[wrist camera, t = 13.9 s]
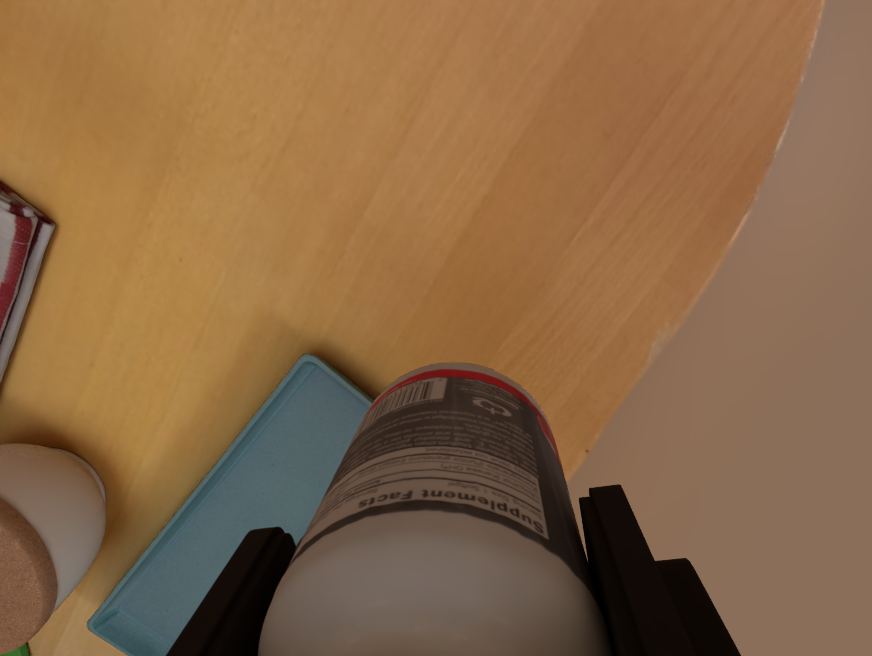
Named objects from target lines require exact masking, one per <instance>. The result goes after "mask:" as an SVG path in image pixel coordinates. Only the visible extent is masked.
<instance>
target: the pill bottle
mask: <svg viewBox="0 0 872 656" xmlns="http://www.w3.org/2000/svg"><path fill="white" fill-rule="evenodd" d="M258 656H613V653H612V648H611V642H610V637H609V632H608V627H607V622H606V619H605V616H604V613H603V610H602V607H601V604H600V601H599V597H598V594H597V591H596V587H595V585H594V582H593V579H592V575H591V571H590V568H589V564H588V561H587V558H586V554H585V551H584V548H583V544H582V541H581V537H580V534H579V529H578V526H577V523H576V519H575V514H574V511H573V508H572V504H571V500H570V496H569V492H568V488H567V484H566V481H565V477H564V473H563V469H562V465H561V461H560V457H559V454H558V450H557V447H556V444H555V440H554V437H553V434H552V431H551V428H550V426H549V423H548V420H547V418H546V416H545V414H544V413H543V411H542V410H541V408H540V406H539V405H538V404H537V402H536V401H535V400H534V399H533V397H532V396H531V395H530V394H529V393H528V392H527V391H526V390H525V389H524V388H522V387H521V386H520V385H519V384H517V383H516V382H514V381H513V380H511V379H509V378H508V377H506V376H504V375H502V374H500V373H498V372H496V371H494V370H493V369H490V368H487V367H483V366H480V365H476V364H471V363H437V364H430V365H427V366H424V367H421V368H418V369H415V370H413V371H411V372H409V373H407V374H405V375H403V376H401V377H399V378H398V379H397V380H395V381H394V382H393V383H391V384H390V385H389V386H388V387H386V388H385V389H384V390H383V391H382V392H381V394H380V395H379V396H378V397H377V398H376V399H375V401H374V402H373V404H372V405H371V407H370V408H369V410H368V412H367V413H366V415H365V417H364V419H363V421H362V422H361V424H360V426H359V428H358V430H357V431H356V433H355V435H354V437H353V439H352V442H351V444H350V446H349V447H348V449H347V451H346V453H345V455H344V457H343V459H342V461H341V463H340V465H339V467H338V469H337V471H336V473H335V475H334V477H333V479H332V481H331V483H330V485H329V487H328V489H327V491H326V493H325V495H324V497H323V499H322V501H321V503H320V505H319V507H318V509H317V511H316V513H315V515H314V517H313V519H312V521H311V522H310V524H309V526H308V528H307V530H306V533H305V534H304V536H303V537H302V538H301V539H300V541H299V542H298V544H297V546H296V549H295V552H294V555H293V558H292V560H291V562H290V564H289V566H288V568H287V570H286V572H285V574H284V575H283V577H282V579H281V581H280V582H279V584H278V586H277V588H276V591H275V594H274V596H273V599H272V602H271V604H270V607H269V609H268V611H267V614H266V617H265V620H264V623H263V627H262V631H261V635H260V641H259V648H258Z"/></svg>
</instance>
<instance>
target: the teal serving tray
mask: <svg viewBox="0 0 872 656" xmlns="http://www.w3.org/2000/svg"><path fill="white" fill-rule="evenodd" d="M374 401H375V400H374V399H372V398H371V397H370V396H368V395H367V394H366V393H365V392H363V391H362V390H361V389H360V388H358V387H357V386H356V385H355V384H353V383H352V382H351V381H350V380H348V379H347V378H346V377H345V376H343V375H342V374H341V373H340V372H338V371H337V370H336V369H335V368H333V367H332V366H331V365H330V364H328V363H327V362H325V361H324V360H323V359H321V358H319V357H317V356H315V355H312V354H309V353H305V354H303V355H302V356H301V357H300V358H299V359H298V360H297V362H296V363H295V364H294V365H293V367H292V368H291V369H290V371H289V372H288V373H287V374H286V376H285V377H284V378H283V379H282V381H281V382H280V383H279V385H278V386H277V387H276V388H275V390H274V391H273V392H272V393H271V395H270V396H269V397H268V399H267V400H266V401H265V402H264V403H263V405H262V406H261V407H260V408H259V410H258V411H257V412H256V413H255V415H254V416H253V417H252V418H251V420H250V421H249V422H248V423H247V425H246V426H245V427H244V429H243V430H242V431H241V432H240V433H239V435H238V436H237V437H236V438H235V440H234V441H233V442H232V444H231V445H230V446H229V448H228V449H227V450H226V451H225V452H224V454H223V455H222V456H221V457H220V459H219V460H218V461H217V462H216V464H215V465H214V466H213V467H212V469H211V470H210V471H209V472H208V473H207V475H206V476H205V477H204V478H203V480H202V481H201V482H200V483H199V485H198V486H197V487H196V489H195V490H194V491H193V492H192V493H191V495H190V496H189V497H188V498H187V499H186V501H185V502H184V503H183V504H182V506H181V507H180V508H179V509H178V511H177V512H176V513H175V514H174V515H173V517H172V518H171V520H170V521H169V522H168V523H167V524H166V525H165V527H164V528H163V529H162V530H161V532H160V533H159V534H158V536H157V537H156V538H155V539H154V540H153V542H152V543H151V544H150V545H149V546H148V548H147V549H146V550H145V552H144V553H143V554H142V555H141V556H140V558H139V559H138V560H137V561H136V563H135V564H134V565H133V566H132V568H131V569H130V570H129V571H128V572H127V574H126V575H125V576H124V577H123V579H122V580H121V581H120V582H119V584H118V585H117V586H116V587H115V589H114V590H113V591H112V592H111V594H110V595H109V596H108V597H107V599H106V600H105V601H104V602H103V603H102V605H101V606H100V607H99V608H98V610H97V611H96V612H95V613H94V614H93V616H92V617H91V618H90V619H89V620H88V622H87V627H88V629H89V630H90V631H91V632H92V633H94V634H95V635H97V636H98V637H100V638H102V639H103V640H105V641H106V642H108V643H110V644H111V645H113V646H114V647H116V648H117V649H119V650H120V651H122V652H123V653H125V654H126V655H128V656H166V654H167V653H168V651H169V650H170V648H171V647H172V645H173V644H174V642H175V641H176V639H177V638H178V636H179V635H180V633H181V632H182V630H183V629H184V627H185V626H186V624H187V623H188V621H189V620H190V618H191V617H192V615H193V614H194V612H195V611H196V609H197V608H198V606H199V605H200V603H201V602H202V600H203V599H204V597H205V596H206V594H207V593H208V591H209V590H210V588H211V587H212V585H213V584H214V582H215V581H216V579H217V578H218V576H219V575H220V573H221V572H222V570H223V569H224V567H225V566H226V564H227V563H228V561H229V560H230V558H231V557H232V555H233V554H234V552H235V551H236V549H237V548H238V546H239V545H240V543H241V542H242V540H243V539H244V537H245V536H246V534H247V533H248V532H249V531H250V530H253V529H261V528H269V527H277V526H278V527H281V528H282V529H283V530H284V532H285V533H290V534H291V535H292V537H293V539H294V542H295V545H296V546H297V544H298V542H299V541H300V539H301V538H302V537H303V536H304V534H305V533H306V530H307V528H308V526H309V524H310V522H311V521H312V519H313V517H314V515H315V513H316V511H317V509H318V507H319V505H320V503H321V501H322V499H323V497H324V495H325V493H326V491H327V489H328V487H329V485H330V483H331V481H332V479H333V477H334V475H335V473H336V471H337V469H338V467H339V465H340V463H341V461H342V459H343V457H344V455H345V453H346V451H347V449H348V447H349V446H350V444H351V442H352V439H353V437H354V435H355V433H356V431H357V430H358V428H359V426H360V424H361V422H362V421H363V419H364V417H365V415H366V413H367V412H368V410H369V408H370V407H371V405H372V404H373V402H374Z"/></svg>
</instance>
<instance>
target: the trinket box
mask: <svg viewBox="0 0 872 656" xmlns="http://www.w3.org/2000/svg"><path fill="white" fill-rule="evenodd" d="M105 506H106V493H105V489H104V486H103V483H102V481H101V479H100V477H99V476H98V474H97V473H96V472H95V470H94V469H93V468H92V467H91V466H90V465H89V464H88V463H87V462H86V461H84V460H83V459H81V458H80V457H78V456H77V455H75V454H73V453H71V452H68V451H66V450H62V449H57V448H47V447H44V446H39V445H33V444H21V443H11V444H0V655H1V654H5V653H9V652H11V651H13V650H15V649H17V648H19V647H21V646H23V645H24V644H25V643H27V642H28V641H29V640H30V639H31V638H32V637H33V636H34V635H35V634H36V633H37V632H38V631H39V630H40V629H41V628H42V627H43V625H44V624H45V623H46V622H47V621H48V619H49V618H50V616H51V615H52V614H53V613H54V612H55V611H56V610H57V609H58V608H59V607H60V605H61V604H62V603H63V602H64V601H65V600H66V599H67V598H68V597H69V595H70V594H71V593H72V592H73V591H74V589H75V588H76V587H77V585H78V584H79V583H80V582H81V580H82V579H83V578H84V576H85V575H86V574H87V572H88V570H89V569H90V567H91V565H92V564H93V562H94V560H95V558H96V556H97V554H98V552H99V550H100V547H101V545H102V542H103V538H104V534H105V529H106V508H105Z"/></svg>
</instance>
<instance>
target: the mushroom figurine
mask: <svg viewBox="0 0 872 656" xmlns="http://www.w3.org/2000/svg"><path fill="white" fill-rule="evenodd" d="M0 656H29V653H28V649H27V646H26V643H25V644H24V645H23V646H21V647H19V648H17V649H15V650H13V651H11V652H9V653H5V654H1V655H0Z"/></svg>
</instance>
